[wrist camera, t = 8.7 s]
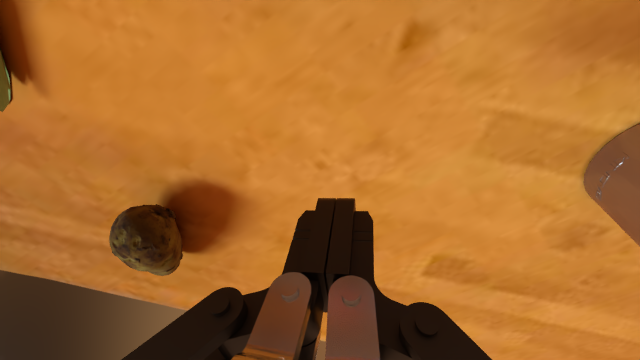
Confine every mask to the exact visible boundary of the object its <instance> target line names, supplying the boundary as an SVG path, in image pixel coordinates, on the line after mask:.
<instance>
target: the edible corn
mask: <svg viewBox="0 0 640 360" xmlns="http://www.w3.org/2000/svg"><path fill="white" fill-rule="evenodd" d="M10 90H11V88H10V78H9V75H8V72H7V68H6V65H5V62H4V58H3V55H2V52H1V48H0V111H2V112H3V111H4V109H5V108H6V107H7V105H8V104H9V101H10Z"/></svg>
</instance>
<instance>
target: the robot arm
mask: <svg viewBox="0 0 640 360" xmlns="http://www.w3.org/2000/svg"><path fill="white" fill-rule="evenodd" d="M584 186H585V190H586V191H587V193H588V194H589V195H590V197H591V198H592V199H593V200H594V201H595V202H596V203H597V204H598V205H599V206H600V207H601V208H602V209H603V210H604V211H605V212H606V213H607V214H608V215H609V216H610V217H611V218H612V219H613V220H614V221H615V222H616V223H617V224H618V225H619V226H620V227H621V228H622V229H623V230H624V231H625V232H626V233H627V234H628V235H629V236H630V237H631V238H632V239H633V240H634V241H635V242H636V243H637V244H638V245H639V246H640V124H638V125H636V126H634V127H632V128H630V129H628V130H627V131H625V132H623V133H621V134H620V135H618V136H617V137H615V138H614V139H613V140H611V141H610V142H609V143H607V144H606V145H605V146H604V147H603V148H602V149H601V150H600V151H599V152H598V153H597V154H596V155H595V156H594V158H593V159H592V161H591V162H590V163H589V165H588V167H587V170H586V172H585V175H584ZM323 312H328V315H327V335H326V355H325V357H326V358H325V360H492V359H491V358H490V357H489V356H488V355H487V354H486V353H485V352H484V351H483V350H482V349H481V348H480V347H479V346H478V345H477V344H476V343H475V342H474V341H473V340H472V339H471V338H470V337H469V336H468V335H467V334H466V333H465V332H464V331H463V330H462V329H460V328H459V327H458V326H457V325H456V324H455V323H454V322H453V321H452V320H451V319H450V318H449V317H448V316H447V315H446V314H445V313H444V312H443V311H442V310H441V309H439V308H438V307H436V306H434V305H432V304H429V303H424V302H417V303H413V304H410V305H409V306H406V305H403V304H401V303H398V302H396V301H393V300H391V299H389V298H387V297H386V296H385V295H383V294H382V293H381V292H380V290H379V289H378V288H377V286H376V284H375V281H374V254H373V220H372V218H371V216H370V215H369V213H368V211H356V208H355V198H337V200H336V198H319V199H318V201H317V205H316V209H315V211H308V210H306V211H305V212H304V213H303V214H302V216H301V217H300V218H299V219H298V222H297V226H296V229H295V232H294V236H293V240H292V242H291V246H290V249H289V253H288V256H287V259H286V263H285V266H284V270H283V273H282V275H281V276H279V277H278V278H276V279H275V280H274V281H273V283H272V284H271V286H270V287H269V288H267V289H265V290H262V291H258V292H254V293H250V294H246V295H242V294H241V293H240V291H239V290H237V289H235V288H231V287H225V288H221V289H218V290H216V291H214V292H213V293H211V294H210V295H209V296H207V297H206V298H204V299H203V300H202V301H200V302H199V303H198V304H196V305H195V306H194V307H192V308H191V309H190V310H188V311H187V312H185V313H184V314H183V315H181V316H180V317H179V318H177V319H176V320H175V321H173V322H172V323H171V324H169V325H168V326H166V327H165V328H164V329H162V330H161V331H160V332H158V333H157V334H156V335H154V336H153V337H152V338H150V339H149V340H147V341H146V342H145V343H143V344H142V345H141V346H139V347H138V348H137V349H135V350H134V351H133V352H131V353H130V354H128V355H127V356H126V357H124V358H123V359H122V360H316V355H317V350H318V345H319V341H320V336H321V322H322V315H323Z"/></svg>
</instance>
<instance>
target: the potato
mask: <svg viewBox="0 0 640 360" xmlns="http://www.w3.org/2000/svg"><path fill="white" fill-rule="evenodd" d="M175 217H176V215H175V213H174V211H173V210H170V209H168V208H166V210H165V208H163V207H161V206H160V205H157V204H156V205H142V206H135V207H130V208H129V209H127V210H125V211H124V212H122V213H121V214H120V215H119V216H118V217H117V218H116V219H115V221H114V223H113V225H112V227H111V231H110V237H109V241H110V247H111V249H112V253H113V254H114V255H115V256H117V257H118V258H119V259H120V260H121V261H122V262H124V263H125V264H126V265H128V266H129V267H131V268H133V269H136V270H138V271H148V272H150V273H152V274H155V275H160V276H164V275H169V274H171V273H173V272H174V271H175V270H176V269H177V267H178V266H179V264H180V260H181V259H182V257H183V254H182V239H181V235H180V232H179V230H178V228H177V225H176V222H175V220H174V219H176V218H175Z"/></svg>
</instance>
